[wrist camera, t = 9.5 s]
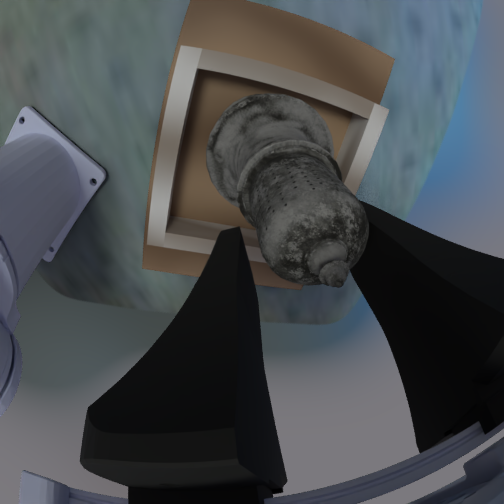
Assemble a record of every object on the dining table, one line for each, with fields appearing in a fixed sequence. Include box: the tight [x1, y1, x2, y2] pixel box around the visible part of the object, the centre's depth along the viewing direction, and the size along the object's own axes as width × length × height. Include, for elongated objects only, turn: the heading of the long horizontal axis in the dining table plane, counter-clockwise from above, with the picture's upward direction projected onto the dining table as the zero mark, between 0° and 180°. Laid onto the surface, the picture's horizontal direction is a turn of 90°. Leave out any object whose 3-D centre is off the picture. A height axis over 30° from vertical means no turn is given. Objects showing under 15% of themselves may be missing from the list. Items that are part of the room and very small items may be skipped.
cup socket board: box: [142, 0, 395, 290], centre depth 16 cm, size 18×12×3 cm, turn 165°
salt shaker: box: [206, 93, 369, 287], centre depth 11 cm, size 6×6×12 cm
